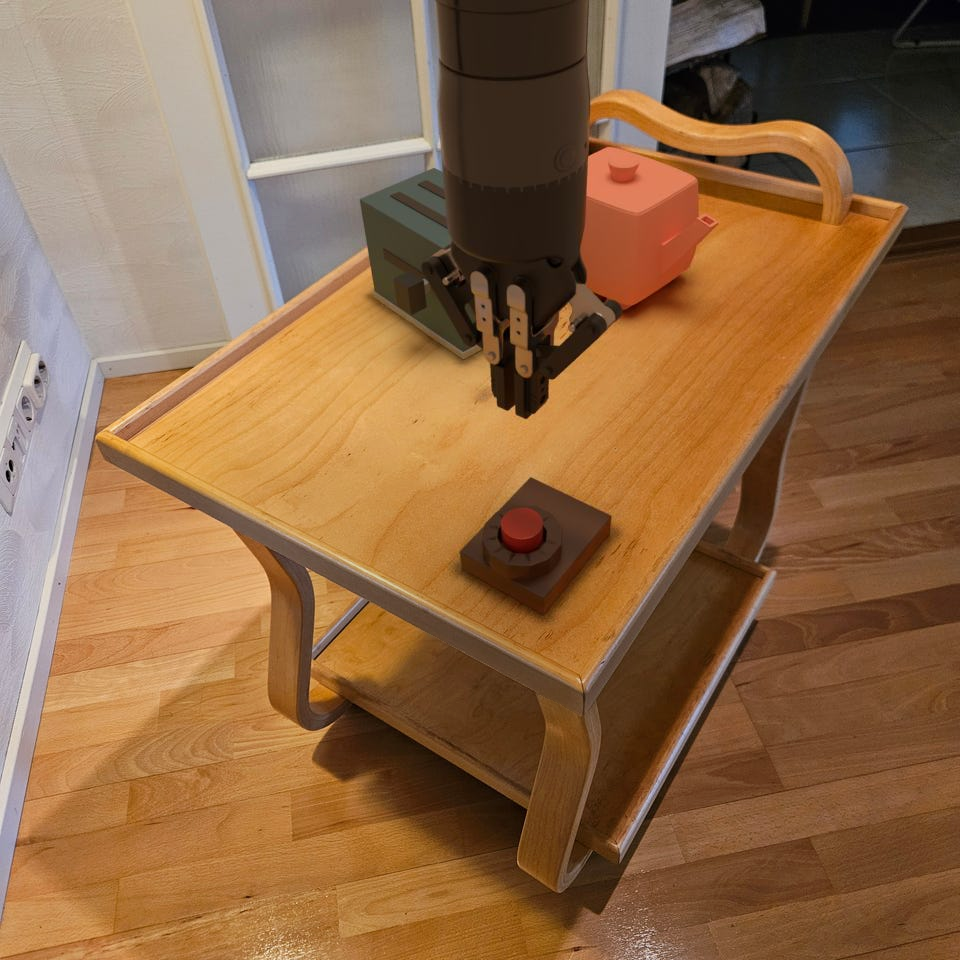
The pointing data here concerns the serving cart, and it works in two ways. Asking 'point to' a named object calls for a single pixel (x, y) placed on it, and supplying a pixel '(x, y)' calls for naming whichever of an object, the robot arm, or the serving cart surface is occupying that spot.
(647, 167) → the teapot
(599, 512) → the switch block
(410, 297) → the slider
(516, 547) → the power button
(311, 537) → the serving cart surface
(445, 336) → the toaster
